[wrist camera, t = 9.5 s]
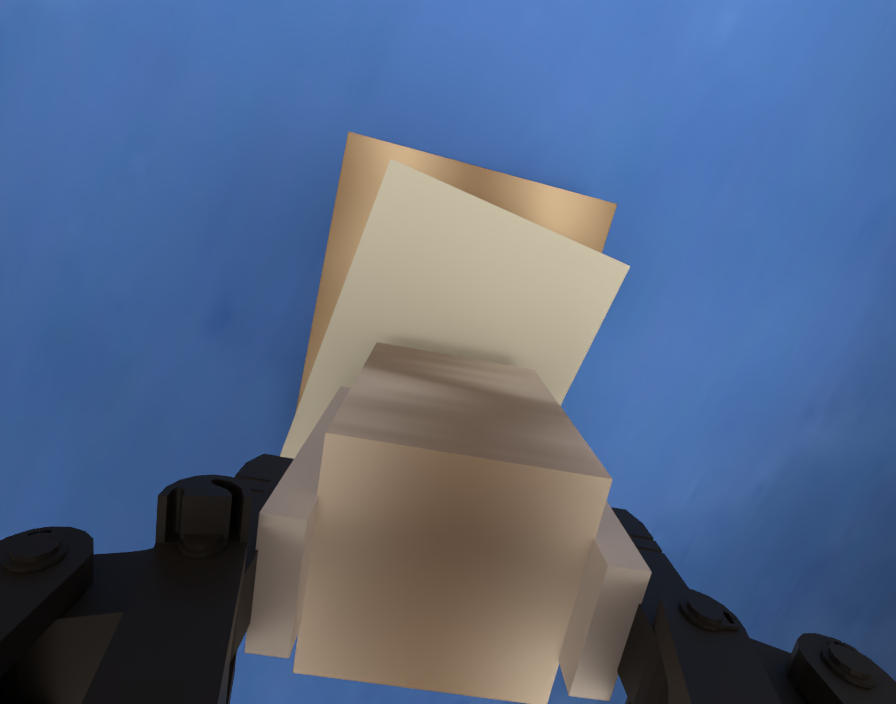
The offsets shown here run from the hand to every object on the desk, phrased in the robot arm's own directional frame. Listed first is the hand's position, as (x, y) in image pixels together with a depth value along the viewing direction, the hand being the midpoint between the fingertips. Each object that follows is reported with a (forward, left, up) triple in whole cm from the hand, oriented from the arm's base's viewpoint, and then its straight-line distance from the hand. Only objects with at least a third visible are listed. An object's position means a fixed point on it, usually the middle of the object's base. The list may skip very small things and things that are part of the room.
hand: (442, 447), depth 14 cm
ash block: (0, 0, -1) cm, 1 cm away
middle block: (0, 0, -9) cm, 9 cm away
